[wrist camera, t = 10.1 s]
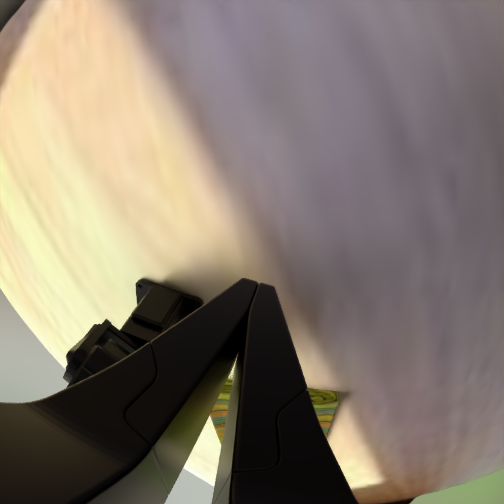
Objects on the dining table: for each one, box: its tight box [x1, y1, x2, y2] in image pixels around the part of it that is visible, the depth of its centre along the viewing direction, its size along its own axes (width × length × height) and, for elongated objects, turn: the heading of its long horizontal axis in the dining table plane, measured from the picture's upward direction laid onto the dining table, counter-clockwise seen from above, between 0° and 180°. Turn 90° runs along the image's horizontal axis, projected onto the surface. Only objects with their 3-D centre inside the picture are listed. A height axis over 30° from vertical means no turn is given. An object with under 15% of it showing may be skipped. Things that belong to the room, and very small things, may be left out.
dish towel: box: [210, 379, 339, 445], centre depth 39 cm, size 15×36×3 cm, turn 4°
